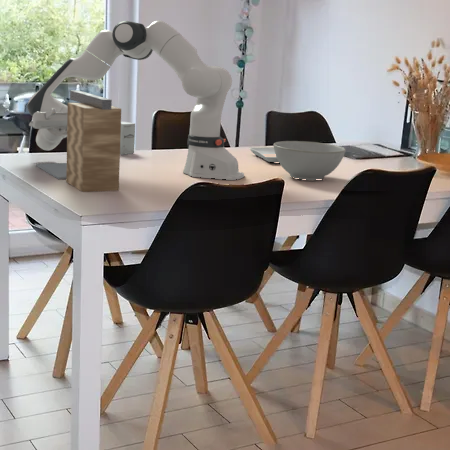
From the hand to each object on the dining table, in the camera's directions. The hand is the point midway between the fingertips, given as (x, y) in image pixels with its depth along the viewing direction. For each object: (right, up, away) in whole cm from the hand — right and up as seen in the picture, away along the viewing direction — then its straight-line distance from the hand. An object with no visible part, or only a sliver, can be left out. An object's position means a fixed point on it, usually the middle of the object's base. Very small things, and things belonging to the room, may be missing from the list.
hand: (67, 110), depth 273 cm
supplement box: (+12, -10, +54) cm, 56 cm away
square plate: (+81, -12, +65) cm, 104 cm away
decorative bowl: (+85, -22, +24) cm, 91 cm away
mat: (-1, -21, +5) cm, 21 cm away
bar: (+11, -1, -20) cm, 23 cm away
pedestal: (+11, -27, -17) cm, 34 cm away
